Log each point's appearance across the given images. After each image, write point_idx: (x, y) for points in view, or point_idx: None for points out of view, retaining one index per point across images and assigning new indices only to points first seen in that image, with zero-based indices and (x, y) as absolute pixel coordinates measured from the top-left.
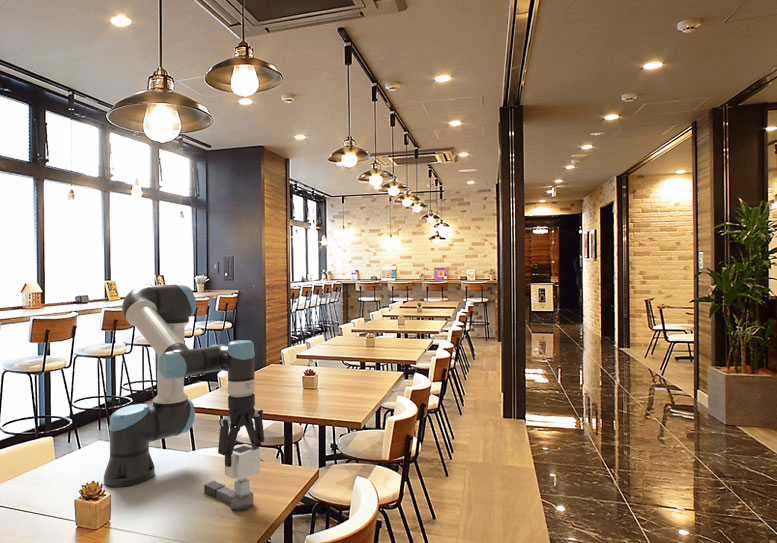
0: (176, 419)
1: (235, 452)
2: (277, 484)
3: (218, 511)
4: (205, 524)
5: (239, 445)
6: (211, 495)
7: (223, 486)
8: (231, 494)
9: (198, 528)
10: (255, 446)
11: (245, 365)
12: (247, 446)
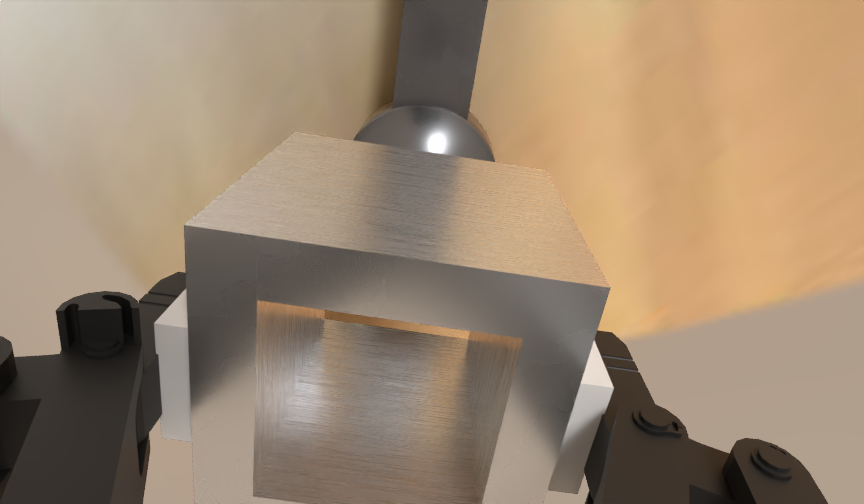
0: None
1: (233, 430)
2: (799, 140)
3: (302, 73)
4: (159, 132)
5: (490, 276)
6: None
7: None
8: (422, 70)
9: (108, 133)
10: (586, 470)
11: None
12: (507, 415)
